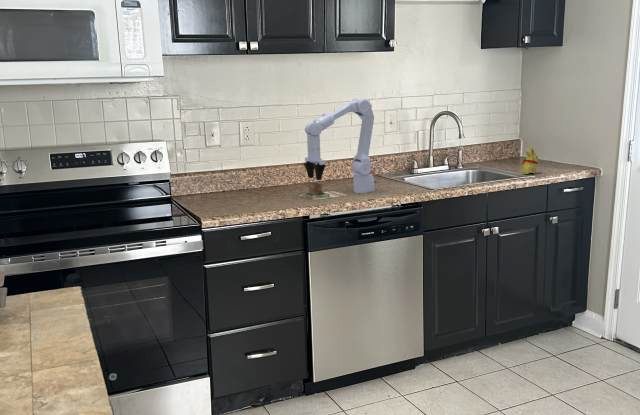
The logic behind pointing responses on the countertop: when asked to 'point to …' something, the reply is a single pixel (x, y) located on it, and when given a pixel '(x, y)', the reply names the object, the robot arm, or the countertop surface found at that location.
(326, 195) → the board
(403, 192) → the countertop surface
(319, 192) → the walnut block
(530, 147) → the chocolate bunny
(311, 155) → the robot arm
